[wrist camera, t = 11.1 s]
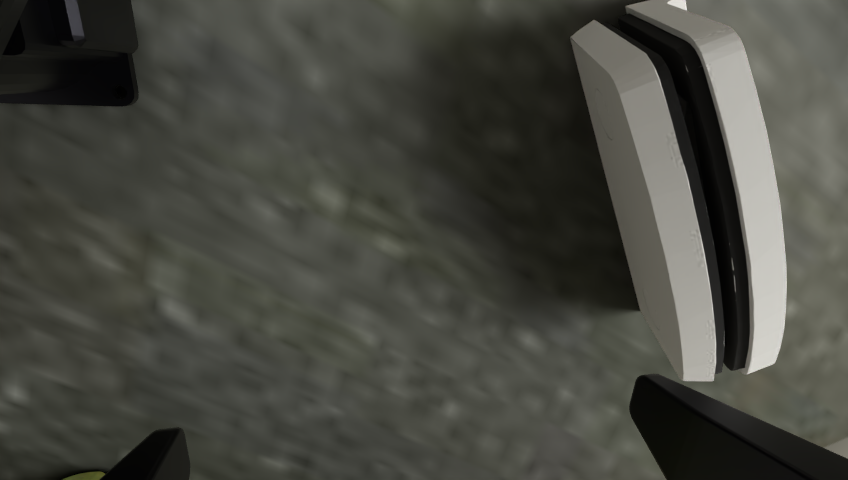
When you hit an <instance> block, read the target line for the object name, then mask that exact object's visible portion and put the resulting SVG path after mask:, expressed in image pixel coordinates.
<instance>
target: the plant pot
mask: <svg viewBox="0 0 848 480" xmlns="http://www.w3.org/2000/svg"><path fill="white" fill-rule="evenodd" d="M104 475H105V473H103V472H100V471H97V472H87V473H81V474H77V475H73V476H70V477H67V478H65V479H62V480H99V479H100V478H101V477H103V476H104Z"/></svg>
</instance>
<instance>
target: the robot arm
mask: <svg viewBox="0 0 848 480" xmlns="http://www.w3.org/2000/svg"><path fill="white" fill-rule="evenodd" d="M137 48H138V41H137V35H136V29H135V23H134V17H133V11H132V5H131V0H0V103H22V104H57V105H92V106H127V105H132V104H134V103H135V102H136V101H137V99H138V93H139V92H138V87H137V81H136V75H135V69H134V64H133V58H132V53H134V52H135V50H136V49H137ZM119 85H120V86H123V87H124V88H125V89H126V91H127V96H126V97H125V99H123V98H121V97H119V96H118V95H117V93H116V88H117V87H118V86H119ZM629 410H630V414H631V417H632V419H633V421H634V423H635V425H636V426H637V428H638V430H639V432H640V433H641V435H642V437H643V439H644V441H645V442H646V444H647V446H648V448H649V449H650V451H651V453H652V455H653V457H654V458H655V460H656V462H657V464H658V465H659V467H660V469H661V471H662V473H663V474H664V476H665V478H666V479H667V480H848V459H847V458H845V457H842V456H840V455H838V454H836V453H833V452H831V451H829V450H827V449H825V448H822V447H820V446H818V445H816V444H813V443H811V442H809V441H807V440H805V439H802V438H800V437H798V436H796V435H793V434H791V433H789V432H787V431H784V430H782V429H780V428H778V427H775V426H773V425H771V424H769V423H767V422H764V421H762V420H760V419H758V418H755V417H753V416H751V415H749V414H746V413H744V412H742V411H740V410H738V409H735V408H733V407H731V406H729V405H726V404H724V403H722V402H720V401H717V400H715V399H713V398H711V397H708V396H706V395H704V394H702V393H700V392H697V391H695V390H693V389H691V388H688V387H686V386H684V385H682V384H679V383H677V382H675V381H673V380H670V379H668V378H666V377H664V376H662V375H659V374H648V375H641V376H639V377H638V378H637V379H636V382H635V385H634V389H633V393H632V397H631V401H630V406H629ZM189 476H190V460H189V455H188V450H187V444H186V439H185V434H184V431H183V430H182V429H181V428H179V427H175V428H166V429H159V430H156V431H154V432H152V433H151V434H150V435H149V436H148V437H146V438H145V439H144V440H143V441H142V442H141V443H140V444H139V445H137V446H136V447H135V448H134V449H133V450H132V451H131V452H130V453H128V454H127V455H126V456H125V457H124V458H123V459H122V460H121V461H119V462H118V463H117V464H116V465H115V466H114V467H113V468H112V469H110V470H109V471H108V472H107V473H106V474H105V475H104V476H103V477H101V478H100V479H99V480H189Z"/></svg>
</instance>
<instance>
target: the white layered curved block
mask: <svg viewBox="0 0 848 480" xmlns="http://www.w3.org/2000/svg"><path fill="white" fill-rule="evenodd" d="M625 8H626V13H627V14H626V15H624V16H622V17H619V18H618V20H619V24H620V29H621V31H620V30H618V29H617V28H615V27H613V26H612V25H610V24H608V23H605V24H603V25H602V24H600V23H599V22H597V21H595V20H593V21H591V22H590V23H588V24H587V25H586V26H584V27H583V28H581V29H580V30H578V31H577V32H576V33H575V34H573V35H572V36H571V37H570V40H571V44H572V47H573V51H574V55H575V59H576V63H577V67H578V71H579V75H580V79H581V82H582V86H583V90H584V94H585V98H586V102H587V106H588V110H589V113H590V117H591V121H592V125H593V129H594V133H595V137H596V141H597V145H598V148H599V152H600V156H601V160H602V164H603V168H604V172H605V176H606V179H607V183H608V187H609V191H610V195H611V199H612V203H613V207H614V211H615V214H616V218H617V222H618V226H619V230H620V234H621V238H622V242H623V246H624V249H625V253H626V257H627V261H628V265H629V269H630V273H631V277H632V280H633V284H634V288H635V292H636V296H637V300H638V304H639V308H640V311H641V313H642V315H643V316H644V318H645V320H646V321H647V323H648V325H649V327H650V328H651V330H652V332H653V333H654V335H655V337H656V339H657V340H658V342H659V344H660V345H661V347H662V349H663V351H664V352H665V354H666V356H667V357H668V359H669V361H670V363H671V364H672V366H673V368H674V369H675V371H676V373H677V375H678V376H679V378H680V379H681V380H682V381H714V374H718V373H721V372H722V367H723V363H724V364H725V365H726V367H727V368H729V369H730V370H732V371H733V370H739V371H740V372H741V373H743V374H749V373H752V372H754V371H757V370H759V369H762V368H764V367H767V366H769V365H772V364H774V363H775V361H776V359H777V356H778V353H779V350H780V347H781V342H782V337H783V331H784V325H785V312H786V292H787V279H786V256H785V245H784V234H783V225H782V216H781V206H780V200H779V194H778V189H777V183H776V177H775V171H774V166H773V161H772V156H771V150H770V145H769V140H768V135H767V130H766V126H765V122H764V118H763V114H762V110H761V106H760V102H759V98H758V95H757V91H756V87H755V84H754V80H753V76H752V73H751V69H750V66H749V62H748V59H747V55H746V52H745V49H744V46H743V44H742V41H741V39H740V38H739V36H738V35H737V34H736V32H735V31H734V30H733V28H732V27H730V26H727V25H725V24H722V23H719V22H717V21H714V20H711V19H708V18H706V17H703V16H700V15H697V14H695V13H692V12H689V11H687V8H686V1H685V0H648V1H644V2H640V3H635V4H631V5H627V6H625Z"/></svg>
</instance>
